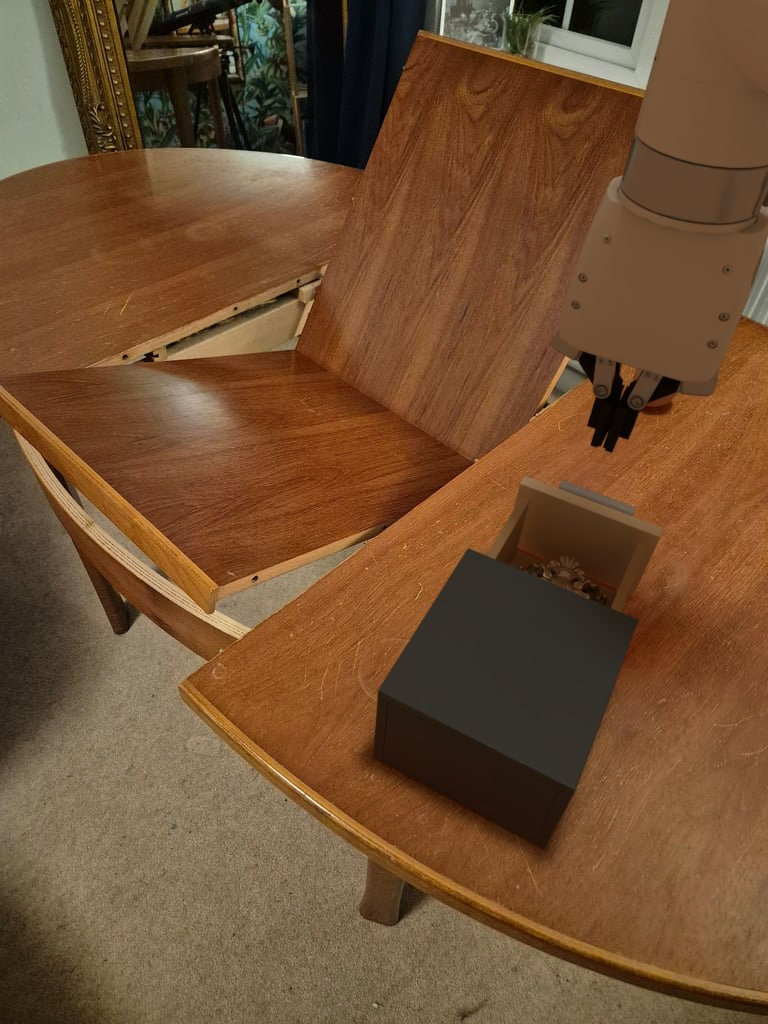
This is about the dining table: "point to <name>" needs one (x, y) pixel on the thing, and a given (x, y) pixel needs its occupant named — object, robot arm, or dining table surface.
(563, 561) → the ornament
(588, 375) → the robot arm
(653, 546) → the drawer
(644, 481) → the dining table surface
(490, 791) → the cabinet
